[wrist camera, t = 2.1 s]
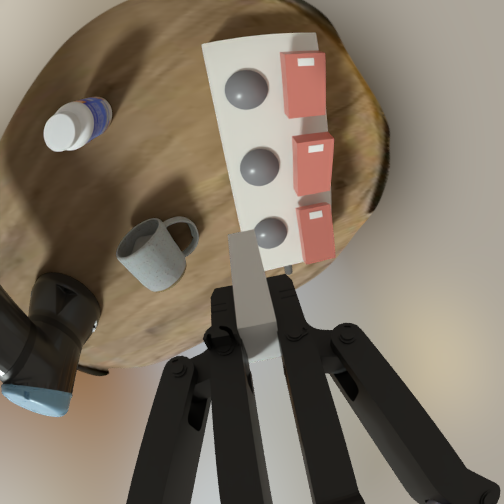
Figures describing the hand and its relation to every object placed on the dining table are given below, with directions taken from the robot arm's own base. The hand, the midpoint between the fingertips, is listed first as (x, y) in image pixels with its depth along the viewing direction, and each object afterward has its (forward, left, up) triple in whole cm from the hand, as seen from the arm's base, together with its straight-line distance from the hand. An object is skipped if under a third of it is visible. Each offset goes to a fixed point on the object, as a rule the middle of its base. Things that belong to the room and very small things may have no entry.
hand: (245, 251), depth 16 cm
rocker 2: (+9, -1, -14) cm, 17 cm away
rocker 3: (+9, -10, -14) cm, 19 cm away
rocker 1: (+9, +8, -14) cm, 19 cm away
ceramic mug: (-11, -10, -22) cm, 26 cm away
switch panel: (+6, -3, -21) cm, 22 cm away
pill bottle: (-15, +10, -21) cm, 28 cm away
